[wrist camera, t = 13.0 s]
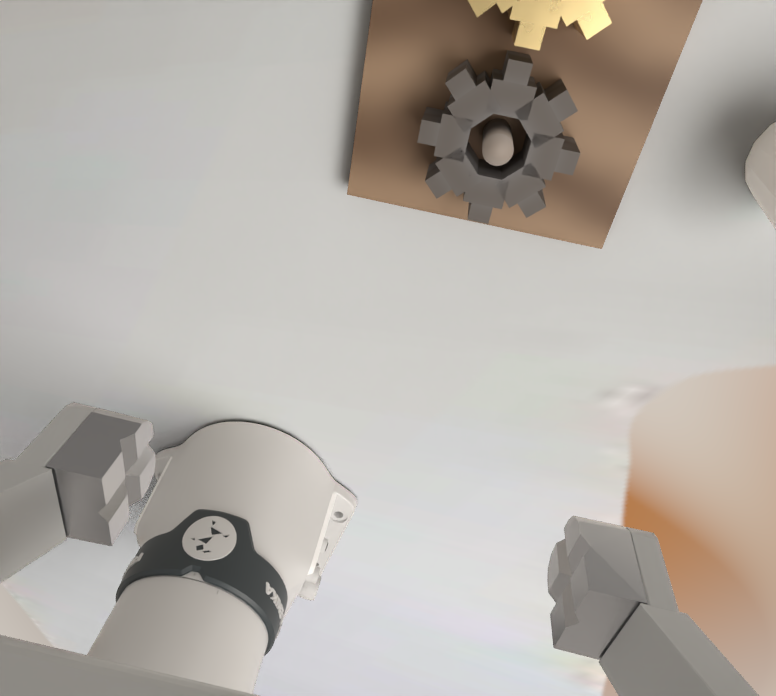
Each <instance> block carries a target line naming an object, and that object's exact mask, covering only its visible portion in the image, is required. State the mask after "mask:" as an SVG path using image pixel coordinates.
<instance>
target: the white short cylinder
mask: <svg viewBox="0 0 776 696" xmlns="http://www.w3.org/2000/svg"><path fill="white" fill-rule="evenodd" d="M745 181H746V183H747V185H748V187H749V189H750V191H751V193H752V195H753V197H754V198H755V200H756V201H757V203H758V204H759V205H760V207H761V208H762V210H763V211H764V213H765V214H766V216H767V217H768V219H769V220H770V222H771V223H772V225H773V226H774V228H775V229H776V122H774V123H773V124H771V125H770V126H769V127H768V128H767V129H766V130H765V131H764V132H763V133H762V134H761V136H760V137H759V138H758V139H757V140H756V141H755V142H754V144H753V146H752V148H751V150H750V153H749V155H748V157H747V159H746V162H745Z"/></svg>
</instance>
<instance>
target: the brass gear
mask: <svg viewBox="0 0 776 696" xmlns="http://www.w3.org/2000/svg"><path fill="white" fill-rule="evenodd" d="M603 1H604V0H468V2H469V3H470V5H471V7H472V9H473V11H474V12H475V14H476V16H477V17H479V16H480V15H481V14H483V13H484V12H485V11H487V10H488V9H489V8H491V7H492V6H493V5H495V4H496V3H497V5H498V7H499V9H500V10H501V12H502V13H504V12H505V11H506V10H508V11H507V12H508V16H509V19H511V20H515V23H514V27H513V31H512V39H513V43H514V45H515V46H520V47H524V48H529V49H534V50H540V47H541V43H542V40H543V36H544V33H545V29H546V27H550V28H555V29H557V27H558V24H559V20H561V21H562V22H563V24H564V25H565V26H566V27H567V26H568V25H570V24H571V23H573V24H574V26H575V28H576V30H577V31H578V32H579V33H580V34H581V35H582V36H583V37H584V38H585V39H586V40H588V39H589V38H591V37H592V36H594V35H595V34H597V33H598V32H599V31H601V30H602V29H604V28H605V27H607V26H608V25H610V24H611V23H612V22H611V20H610V17H609V15H608V13H607V11H606V9H605V7H604V4H603Z"/></svg>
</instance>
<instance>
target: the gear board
mask: <svg viewBox="0 0 776 696" xmlns="http://www.w3.org/2000/svg"><path fill="white" fill-rule="evenodd" d="M701 3H702V0H604V1H603V4H604V7H605V9H606V11H607V13H608V15H609V17H610V20H611V22H612V23H611V24H610V25H608V26H607V27H605V28H604V29H602V30H601V31H599V32H598V33H597V34H595V35H594V36H592V37H591V38H589V39H588V40H586V39H585V38H584V37H583V36H582V35H581V34H580V33H579V32H578V31H577V30H576V28H575V26H574V24H573V23H571V24H570V25H568V26H567V27H566V26H565V25H564V24H563V22H562V21H561V20H559V24H558V27H557V29H555V28H550V27H546V29H545V33H544V36H543V40H542V43H541V47H540V50H534V49H529V48H524V47H520V46H515V45H514V43H513V39H512V31H513V27H514V23H515V20H511V19H509V16H508V12H507V11H508V10H506V11H505V12H504V13H502V12H501V10H500V9H499V7H498V5H497V3H496V4H495V5H493V6H492V7H491V8H489V9H488V10H487V11H485V12H484V13H483V14H481V15H480V16H479V17H477V16H476V14H475V12H474V11H473V9H472V7H471V5H470V3H469V2H468V0H373V3H372V10H371V18H370V25H369V33H368V40H367V48H366V55H365V63H364V70H363V78H362V86H361V93H360V101H359V108H358V116H357V123H356V131H355V138H354V146H353V153H352V161H351V168H350V176H349V183H348V191H347V195H352V196H357V197H361V198H366V199H371V200H375V201H380V202H385V203H389V204H394V205H399V206H403V207H408V208H413V209H417V210H422V211H427V212H431V213H436V214H441V215H445V216H450V217H455V218H459V219H464V220H469V221H473V222H478V223H483V224H487V225H492V226H497V227H502V228H506V229H511V230H516V231H520V232H525V233H530V234H534V235H539V236H544V237H548V238H553V239H558V240H562V241H567V242H572V243H576V244H581V245H586V246H590V247H595V248H600V249H602V247H603V244H604V242H605V239H606V237H607V234H608V232H609V229H610V227H611V224H612V222H613V219H614V217H615V215H616V212H617V210H618V207H619V205H620V202H621V200H622V197H623V195H624V192H625V190H626V187H627V185H628V183H629V180H630V178H631V175H632V173H633V170H634V168H635V165H636V163H637V160H638V158H639V155H640V153H641V151H642V148H643V146H644V143H645V141H646V138H647V136H648V133H649V131H650V128H651V126H652V123H653V121H654V118H655V116H656V114H657V111H658V109H659V106H660V104H661V101H662V99H663V96H664V94H665V91H666V89H667V86H668V84H669V82H670V79H671V77H672V74H673V72H674V69H675V67H676V64H677V62H678V59H679V57H680V54H681V52H682V50H683V47H684V45H685V42H686V40H687V37H688V35H689V32H690V30H691V27H692V25H693V22H694V20H695V18H696V15H697V13H698V10H699V8H700V5H701Z"/></svg>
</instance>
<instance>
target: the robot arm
mask: <svg viewBox="0 0 776 696" xmlns="http://www.w3.org/2000/svg"><path fill="white" fill-rule="evenodd" d="M153 436H154V433H153V425H152V422H150V421H148V420H144V419H140V418H136V417H132V416H128V415H124V414H120V413H116V412H112V411H109V410H105V409H101V408H95V407H91V406H87V405H83V404H79V403H75V402H73V403H71V404H69V405H67V406H65V407H64V408H63V409H62V410H61V411H60V412H59V413H58V415H57V416H56V417H55V418H54V419H53V420H52V421H51V422H50V423H49V424H48V425H47V426H46V427H45V429H44V430H43V431H42V432H41V433H40V434H39V435H38V436H37V437H36V438H35V439H34V440H33V441H32V443H31V444H30V445H29V446H28V447H27V448H26V449H25V450H24V451H23V452H22V453H21V454H20V455H19V456H18V458H17V459H16V460H10V459H6V460H3V461H1V462H0V583H1V582H3V581H4V580H6V579H7V578H9V577H10V576H12V575H14V574H15V573H17V572H18V571H20V570H21V569H23V568H24V567H26V566H27V565H29V564H30V563H32V562H33V561H35V560H37V559H38V558H40V557H41V556H43V555H44V554H46V553H47V552H49V551H50V550H52V549H53V548H55V547H56V546H58V545H60V544H61V543H63V542H64V541H66V540H67V538H66V537H69V538H74V539H79V540H84V541H89V542H94V543H99V544H104V545H108V546H112V545H113V544H114V542H115V541H116V539H117V537H118V536H119V534H120V533H121V531H122V530H123V528H124V526H125V525H126V523H127V522H128V520H129V519H130V513H129V506H130V505H132V504H134V503H136V502H138V501H140V500H141V499H142V498H143V496H144V495H145V493H146V491H147V490H148V488H149V485H150V483H151V480H152V477H153V475H154V474H155V477H156V480H157V484H156V486H155V487H154V489H153V491H152V493H151V495H150V497H149V499H148V501H147V503H146V505H145V507H144V509H143V511H142V513H141V515H140V517H139V519H138V520H137V523H136V525H135V528H134V533H135V534H136V535H137V542H138V544H139V546H140V549H139V551H138V553H137V554H136V556H135V558H134V559H133V560H132V561H131V563H130V564H129V566H128V567H127V569H126V571H125V573H124V575H123V578H122V582H121V584H120V586H119V588H118V590H117V593H116V605H115V606H114V608H113V610H112V612H111V613H110V615H109V617H108V619H107V620H106V622H105V624H104V626H103V627H102V629H101V631H100V633H99V635H98V636H97V638H96V640H95V642H94V643H93V645H92V647H91V649H90V650H89V652H88V654H87V655H84V654H80V653H75V652H71V651H67V650H63V649H58V648H54V647H50V646H45V645H41V644H37V643H32V642H28V641H24V640H20V639H15V638H11V637H7V636H3V635H0V696H259V695H255V694H253V691H254V688H255V684H256V681H257V677H258V674H259V670H260V667H261V664H262V661H263V657H264V656H265V655H266V654H267V653H268V652H269V651H270V649H271V648H272V646H273V644H274V641H275V639H276V638H277V636H278V634H279V632H280V629H281V626H282V623H283V619H284V617H285V616H286V614H287V613H288V611H289V609H290V607H291V606H292V604H293V602H294V600H295V599H296V597H297V596H298V595H299V597H302V598H304V599H307V600H310V601H312V600H314V599H315V596H316V594H317V591H318V588H319V584H320V581H321V574H322V572H323V570H324V568H325V566H326V564H327V563H328V561H329V559H330V557H331V555H332V553H333V551H334V549H335V548H336V546H337V544H338V542H339V540H340V538H341V536H342V534H343V533H344V531H345V529H346V527H347V525H348V523H349V521H350V519H351V518H352V516H353V514H354V512H355V509H356V506H357V499H356V497H355V496H354V495H353V494H352V493H351V492H350V491H348V490H347V489H346V488H344V487H343V486H342V485H340V484H339V483H337V482H336V481H335V480H334V479H333V478H332V476H331V475H330V473H329V472H328V470H327V469H326V467H325V466H324V464H323V463H322V462H321V460H320V459H319V458H318V457H317V456H316V455H315V454H314V453H313V452H312V451H311V450H310V449H309V448H308V447H306V446H305V445H304V444H302V443H301V442H300V441H298V440H296V439H295V438H293V437H291V436H289V435H288V434H286V433H283V432H281V431H279V430H276V429H274V428H271V427H268V426H264V425H260V424H255V423H249V422H222V423H217V424H213V425H209V426H207V427H204V428H202V429H200V430H198V431H197V432H195V433H194V434H193V435H191V436H190V437H189V438H188V439H187V440H186V441H185V442H184V443H183V444H181V445H179V446H177V447H173V448H169V449H165V450H162V451H160V452H158V453H157V454H156V456H155V452H154V450H153V449H152V448H151V447H150V445H149V442H150V441H151V439H152V438H153ZM564 532H565V539H564V540H562V541H560V542H558V543H556V545H555V547H554V549H553V551H552V554H551V557H550V561H549V566H548V579H547V581H548V592H549V594H550V595H551V597H552V598H553V599H554V601H555V602H556V605H555V607H554V608H553V610H552V612H551V614H550V616H551V626H552V636H553V647H554V648H556V649H560V650H564V651H567V652H571V653H575V654H579V655H583V656H587V657H591V658H594V659H598V660H600V661H599V663H600V665H601V667H602V668H603V670H604V672H605V674H606V675H607V677H608V679H609V680H610V682H611V684H612V685H613V687H614V688H615V690H616V692H617V694H618V695H619V696H759V695H758V694H757V693H756V691H755V690H754V689H753V688H752V687H751V686H750V685H749V684H748V682H747V681H746V680H745V679H744V678H743V677H742V676H741V674H739V672H738V671H737V670H736V669H735V668H734V667H733V665H732V664H731V663H730V662H729V661H728V660H727V659H726V657H725V656H724V655H723V654H722V653H721V652H720V651H719V650H718V649H717V647H716V646H715V645H714V644H713V643H712V642H711V641H710V640H709V638H708V637H707V636H706V635H705V634H704V633H703V631H702V630H701V629H700V628H699V627H698V626H697V625H696V624H695V622H694V621H693V620H692V619H691V618H690V617H689V615H687V614H685V613H681V612H679V610H678V607H677V604H676V600H675V596H674V593H673V590H672V586H671V583H670V579H669V576H668V573H667V569H666V566H665V562H664V559H663V556H662V552H661V549H660V545H659V542H658V538H657V537H656V536H655V534H654V533H651V532H646V531H642V530H637V529H632V528H628V527H623V526H619V525H615V524H610V523H605V522H601V521H596V520H591V519H587V518H582V517H577V516H572V517H571V518H570V519H569V520H568V522H567V524H566V526H565V527H564Z"/></svg>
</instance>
